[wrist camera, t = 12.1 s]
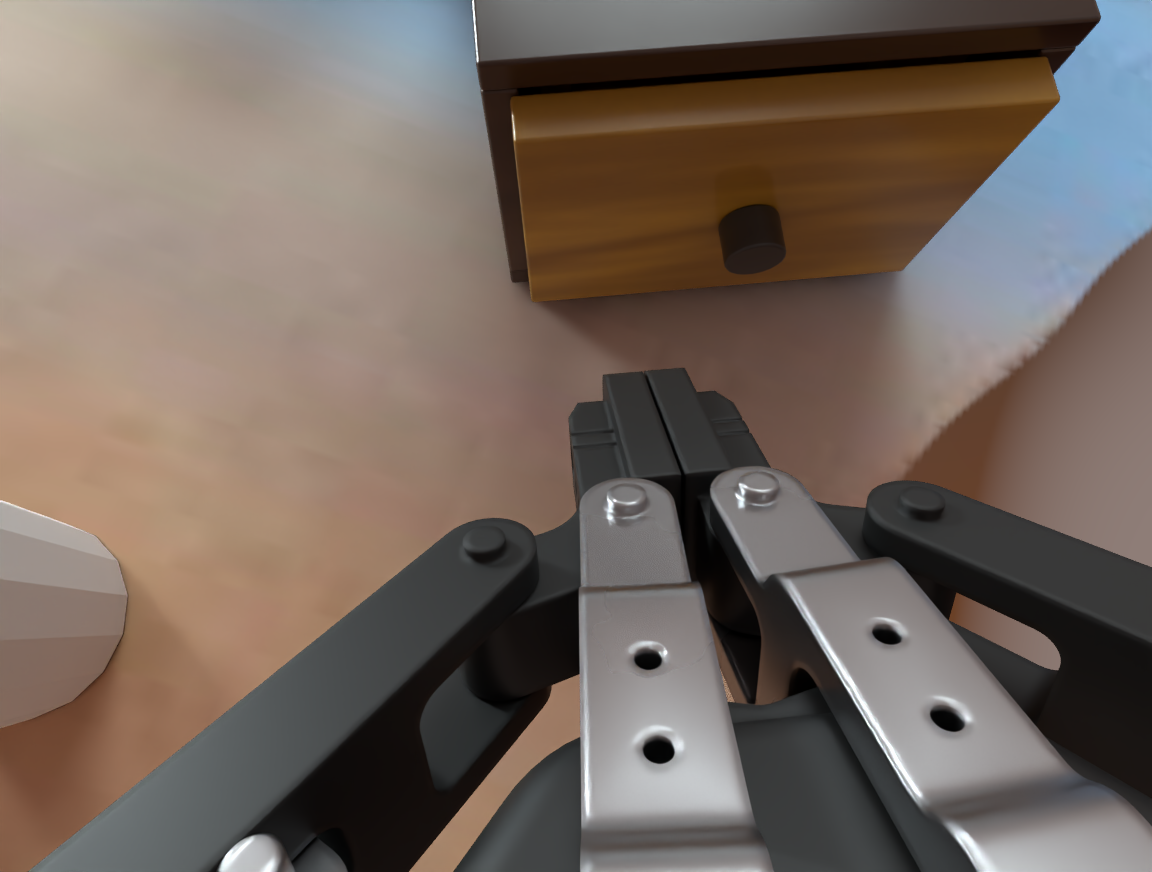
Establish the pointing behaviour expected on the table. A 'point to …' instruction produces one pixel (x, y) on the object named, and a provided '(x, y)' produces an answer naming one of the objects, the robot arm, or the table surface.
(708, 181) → the wooden drawer
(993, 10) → the cabinet
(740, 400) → the table surface
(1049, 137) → the table surface
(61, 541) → the white faceted cylinder
